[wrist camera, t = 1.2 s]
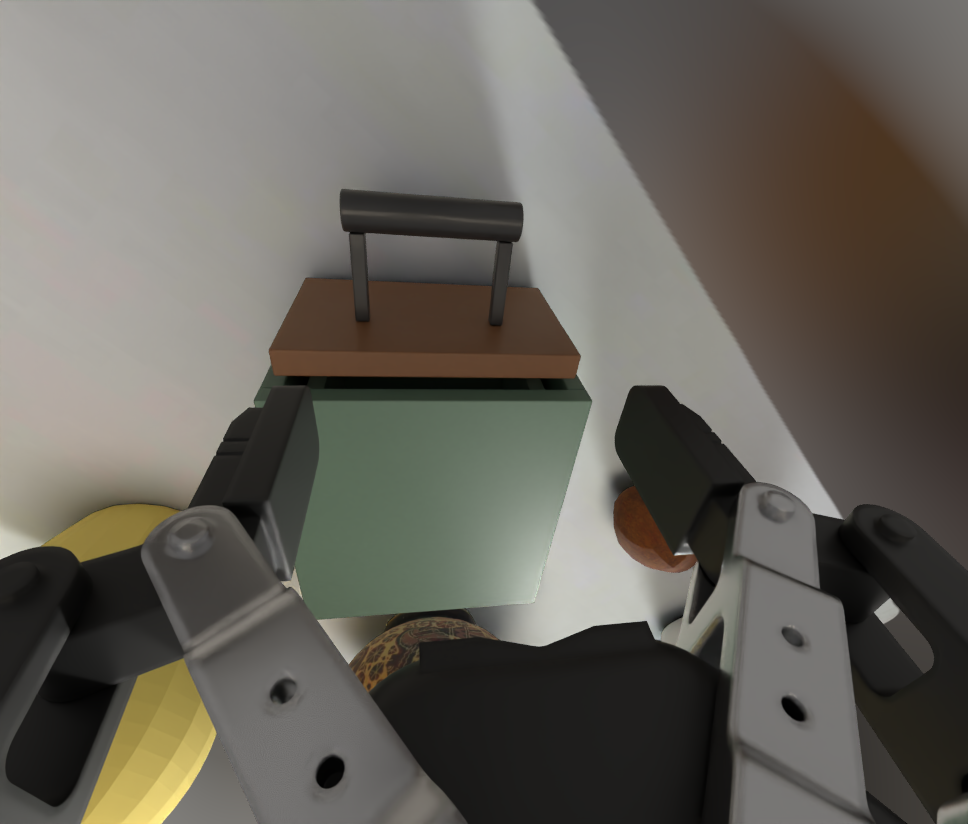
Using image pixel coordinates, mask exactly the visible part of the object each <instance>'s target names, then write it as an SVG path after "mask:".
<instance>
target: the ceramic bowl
mask: <svg viewBox="0 0 968 824" xmlns="http://www.w3.org/2000/svg"><path fill="white" fill-rule="evenodd" d="M472 637H482V638H488V639H494V640H499V639H498V638H496V637H495V636H494V635H492V634H491V633H489V632H488V631H487V630H485V629H483V628H481V627H479V626H477V625H475V622H474V620H473V618H472V616H471V615H470V613H469V612H468V611H467V610H465V609H463V608H462V609H449V610H436V611H423V612H411V613H399V614H397V615H396V616H394V617H393V618H392V619H391V620H390V621H389V622H388V623H387V626H386V628H385V631H384V633H383V634H381V635H379V636H378V637H376V638H375V639H373V640H372V641H371V642H370V643H368V644H367V645H366V646H365V647H364V648H363V649H362V650H361V651H360V652H359V653H358V654H357V655H356V656H355V657H354V659H353V660H352V661H351V662H350V664H349V666H350V668H351V669H352V670H353V672H354V673H355V675H356V676H357V677H358V679H359V680H360V682H361V683H362V685H363V686H364V687H365V689H366V690H367V692H369V691H370V690H371V689H372V688H373V687H375V686H376V685H377V684H378V683H379V682H380V681H382V680H383V679H385V678H386V677H387V676H389V675H390V674H392V673H393V672H395V671H397V670H399V669H401V668H403V667H404V666H406V665H409V664H411V663H414V662H416V661H419V642H430V641H440V640H451V639H461V638H472Z"/></svg>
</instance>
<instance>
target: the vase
mask: <svg viewBox="0 0 968 824" xmlns="http://www.w3.org/2000/svg"><path fill="white" fill-rule="evenodd" d="M178 512H180V511H179V510H175V509H172V508H168V507H165V506H157V505H147V504H127V505H115V506H111V507H108V508H105V509H102V510H99V511H96V512H93V513H92V514H90V515H88V516H87V517H85V518H83V519H82V520H80V521H79V522H77V523H75V524H74V525H72V526H71V527H69V528H68V529H66V530H65V531H63V532H61V533H60V534H58V535H57V536H55V537H54V538H52V539H51V540H49V541H48V542H46V543H45V544H43V545H42V546H40V547H43V546H57V547H62V548H66V549H68V550H70V551H71V552H72V553H73V554H74V555H75V556H76V557H77V559H78V560H79V561H80V562H83V561H87V560H91V559H94V558H98V557H101V556H105V555H108V554H112V553H115V552H119V551H122V550H126V549H129V548H132V547H135V546H139V545H141V544H143V543H144V541H145V539H146V538H147V536H148V535H149V534H150V532H151V531H152V530H153V529H154V528H155V527H156V526H157V525H159V524H160V523H161V522H162V521H164V520H165V519H167V518H168V517H170V516H172V515H174V514H176V513H178ZM216 733H217V732H216V730H215V728H214V726H213V724H212V721H211V719H210V717H209V715H208V713H207V710H206V708H205V706H204V704H203V702H202V699H201V697H200V695H199V693H198V691H197V688H196V686H195V684H194V682H193V680H192V677H191V675H190V673H189V671H188V668H187V666H186V664H185V661H184V658H183V659H180V660H178V661H175V662H173V663H170V664H167V665H165V666H162V667H160V668H157V669H154V670H152V671H149V672H147V673H144V674H141V675H139V676H138V677H137V680H136V683H135V685H134V688H133V690H132V693H131V695H130V698H129V701H128V703H127V706H126V708H125V711H124V713H123V716H122V719H121V721H120V724H119V726H118V729H117V732H116V734H115V737H114V739H113V742H112V744H111V747H110V750H109V752H108V755H107V757H106V760H105V763H104V765H103V768H102V770H101V773H100V775H99V778H98V781H97V783H96V786H95V788H94V791H93V794H92V796H91V799H90V801H89V804H88V806H87V809H86V812H85V814H84V817H83V819H82V822H81V824H161V823H162V822H163V821H164V820H165V819H166V817H167V816H168V815H169V814H170V813H171V812H172V810H173V809H174V808H175V807H176V806H177V804H178V803H179V802H180V800H181V799H182V797H183V796H184V795H185V793H186V792H187V790H188V789H189V788H190V786H191V784H192V783H193V781H194V779H195V778H196V776H197V775H198V773H199V771H200V769H201V767H202V765H203V763H204V761H205V759H206V757H207V756H208V753H209V751H210V748H211V746H212V744H213V741H214V739H215V736H216Z"/></svg>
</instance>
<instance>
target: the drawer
mask: <svg viewBox="0 0 968 824" xmlns="http://www.w3.org/2000/svg"><path fill="white" fill-rule="evenodd" d="M340 217H341V224H342V228H343V231H345V232H350V233H349V242H350V254H351V267H352V280H342V279H320V278H306V279H305V280H304V282H303V284H302V286H301V288H300V290H299V292H298V294H297V296H296V298H295V300H294V302H293V304H292V306H291V308H290V310H289V312H288V314H287V315H286V317H285V319H284V321H283V323H282V325H281V327H280V329H279V331H278V333H277V335H276V337H275V339H274V341H273V343H272V345H271V347H270V348H269V355H270V360H271V365H272V369H273V374H274V375H275V376H310V377H309V380H308V383H307V386H309V388H310V389H473V390H545V389H544V386H543V384H542V382H541V380H540V378H565V379H574V378H575V377H576V373H577V369H578V365H579V361H580V357H581V356H580V354H579V352H578V351H577V349H576V347H575V346H574V344H573V343H572V341H571V340H570V338H569V336H568V335H567V333H566V332H565V330H564V328H563V327H562V325H561V324H560V322H559V321H558V319H557V317H556V316H555V314H554V313H553V311H552V309H551V308H550V306H549V305H548V303H547V302H546V300H545V298H544V297H543V295H542V294H541V292H540V290H539V289H538V288H523V287H507V285H508V277H509V270H510V262H511V254H512V247H513V244H512V242H518V241H519V239H520V237H521V233H522V228H523V206H522V204H521V203H518V202H505V201H492V200H479V199H466V198H453V197H440V196H427V195H414V194H401V193H388V192H375V191H362V190H349V189H341V192H340ZM366 233H375V234H392V235H408V236H424V237H440V238H457V239H473V240H489V241H497V245H496V254H495V263H494V272H493V281H492V286H478V285H455V284H432V283H410V282H387V281H368V267H367V249H366Z"/></svg>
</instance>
